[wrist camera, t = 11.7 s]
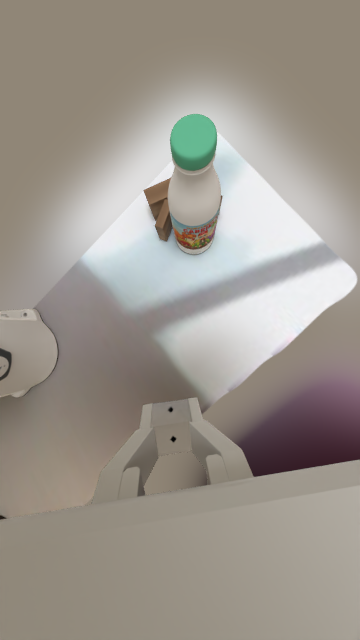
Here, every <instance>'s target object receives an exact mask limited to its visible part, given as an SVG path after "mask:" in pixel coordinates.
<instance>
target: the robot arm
mask: <svg viewBox="0 0 360 640" xmlns="http://www.w3.org/2000/svg"><path fill="white" fill-rule="evenodd" d="M26 314H27V316H26ZM57 354H58V349H57V343H56V340H55V337H54V335H53V333H52V332H51V330H50V329H49V328H48V327H47V326H46V325H45V324H44V323H43V322H42V319H41V317H40V315H39V313H38V311H37V310H36V309H22V310H5V311H0V397H3V396H7V395H11V396H13V397H21V396H23V395H25V394H26V393H27V392H28V391H29V389H30V388H31V387H33V386H34V385H37V384H39V383H41V382H42V381H44V380H45V379H46V378H47V377H48V376H49V375H50V374H51V372H52V371H53V369H54V367H55V364H56V361H57ZM189 451H192V453H193V454H194V455H195V456H196V458H197V459H198V460H199V462H200V463H201V464H202V466H203V467H204V468H205V470H206V471H207V484H208V485H205V486H200V487H193V488H188V489H181V490H175V491H170V492H163V493H157V494H151V495H145V491H144V485H145V483H146V481H147V479H148V477H149V475H150V473H151V471H152V469H153V467H154V465H155V463H156V461H157V459H158V456H163V455H168V454H173V453H181V452H189ZM0 640H360V460H356V461H349V462H344V463H337V464H331V465H326V466H319V467H314V468H307V469H301V470H295V471H289V472H283V473H277V474H271V475H265V476H259V477H253V475H252V472H251V470H250V468H249V465H248V463H247V461H246V458H245V456H244V453H243V451H242V449H240V448H239V447H238V446H237V445H236V444H235V443H233V442H232V441H231V440H229V438H227V437H226V436H225V435H224V434H222V433H221V432H220V431H219V430H218V429H216V428H215V427H214V426H213V425H212V424H210V423H209V422H208V421H207V420H203V418H202V414H201V410H200V406H199V402H198V399H197V397H195V398H189V399H183V400H176V401H169V402H160V403H153V404H144V405H143V407H142V414H141V421H140V427H139V429H138V430H136V431H135V432H134V433H133V434H132V436H131V437H130V438H129V439H128V440H127V441H126V443H125V444H124V445H123V446H122V447H121V448H120V450H119V451H118V452H117V453H116V454H115V456H114V457H113V458H112V459H111V460H110V461H109V463H108V464H107V465H106V466H105V467H104V469H103V470H102V471H101V474H100V477H99V480H98V483H97V487H96V490H95V493H94V496H93V499H92V503H91V505H85V506H79V507H73V508H67V509H61V510H55V511H49V512H43V513H37V514H31V515H25V516H19V517H13V518H7V519H1V520H0Z"/></svg>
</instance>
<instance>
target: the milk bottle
mask: <svg viewBox="0 0 360 640" xmlns="http://www.w3.org/2000/svg"><path fill="white" fill-rule="evenodd" d="M170 144H171V152H172V160H173V163H174V165H175V169H174V172H173V175H172V177H171V180H170V183H169V188H168V205H169V211H170V216H171V221H172V225H173V230H174V234H175V239H176V242H177V244H178V246H179V247H180V249H181V250H183V251H184V252H186V253H189V254H199V253H202V252H204V251H205V250H207V249H208V248H209V247H210V245H211V244H212V241H213V238H214V233H215V229H216V224H217V218H218V213H219V208H220V200H221V188H220V182H219V178H218V176H217V173H216V171H215V169H214V166H213V162H214V159H215V151H216V145H217V132H216V128H215V125H214V123H213V122H212V121H211V120H210V119H209V118H208V117H206V116H204V115H200V114H191V115H187V116H185V117H183V118H181V119H180V120H179V121H178V122H177V123H176V124H175V126H174V127H173V129H172V132H171V137H170Z"/></svg>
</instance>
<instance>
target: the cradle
mask: <svg viewBox="0 0 360 640" xmlns="http://www.w3.org/2000/svg"><path fill="white" fill-rule="evenodd" d="M170 180H171V178H170V179H167V180H165V181H163V182H161V183H159V184H156V185H154V186H152V187H150V188H148V189H145V190H144V193H145V195H146V198H147V201H148V203H149V206H150V209H151V211H152V214H153V216H154V219H155V221H156V220H157V221H156V224H155V227H156V230H157V232H158V235H159V237H160V239H161V240H164V241H167V240H168V237H169V234H170V232H171V229H172V226H173V225H172V221H171V216H170V211H169V205H168V188H169V183H170ZM221 201H222V196H221V200H220V206H221ZM219 211H220V208H219ZM218 215H219V213H218Z"/></svg>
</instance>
